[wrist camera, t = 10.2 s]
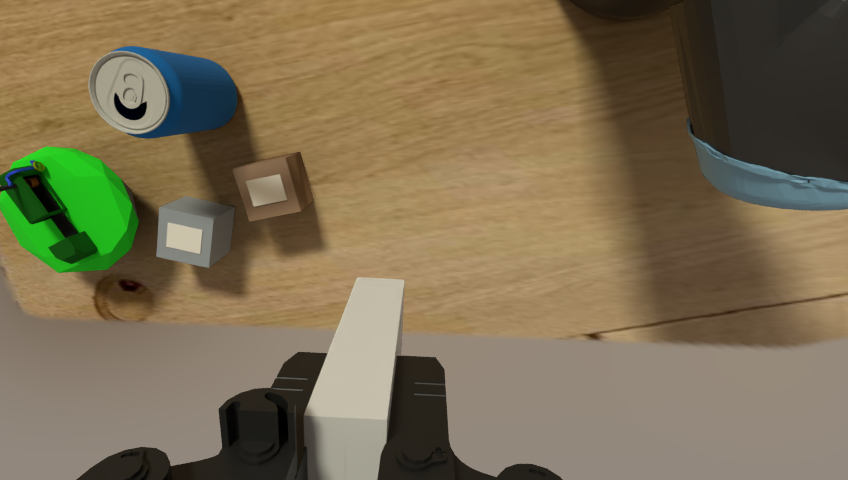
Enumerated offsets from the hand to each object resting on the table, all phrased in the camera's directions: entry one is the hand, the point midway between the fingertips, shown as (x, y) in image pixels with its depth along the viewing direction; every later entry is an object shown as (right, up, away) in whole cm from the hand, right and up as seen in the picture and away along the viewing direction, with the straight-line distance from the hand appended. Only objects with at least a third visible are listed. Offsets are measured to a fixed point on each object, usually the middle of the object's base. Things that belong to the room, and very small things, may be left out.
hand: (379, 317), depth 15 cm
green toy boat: (-32, +6, +32) cm, 46 cm away
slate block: (-21, +4, +33) cm, 39 cm away
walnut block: (-13, +9, +32) cm, 35 cm away
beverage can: (-19, +17, +29) cm, 39 cm away
